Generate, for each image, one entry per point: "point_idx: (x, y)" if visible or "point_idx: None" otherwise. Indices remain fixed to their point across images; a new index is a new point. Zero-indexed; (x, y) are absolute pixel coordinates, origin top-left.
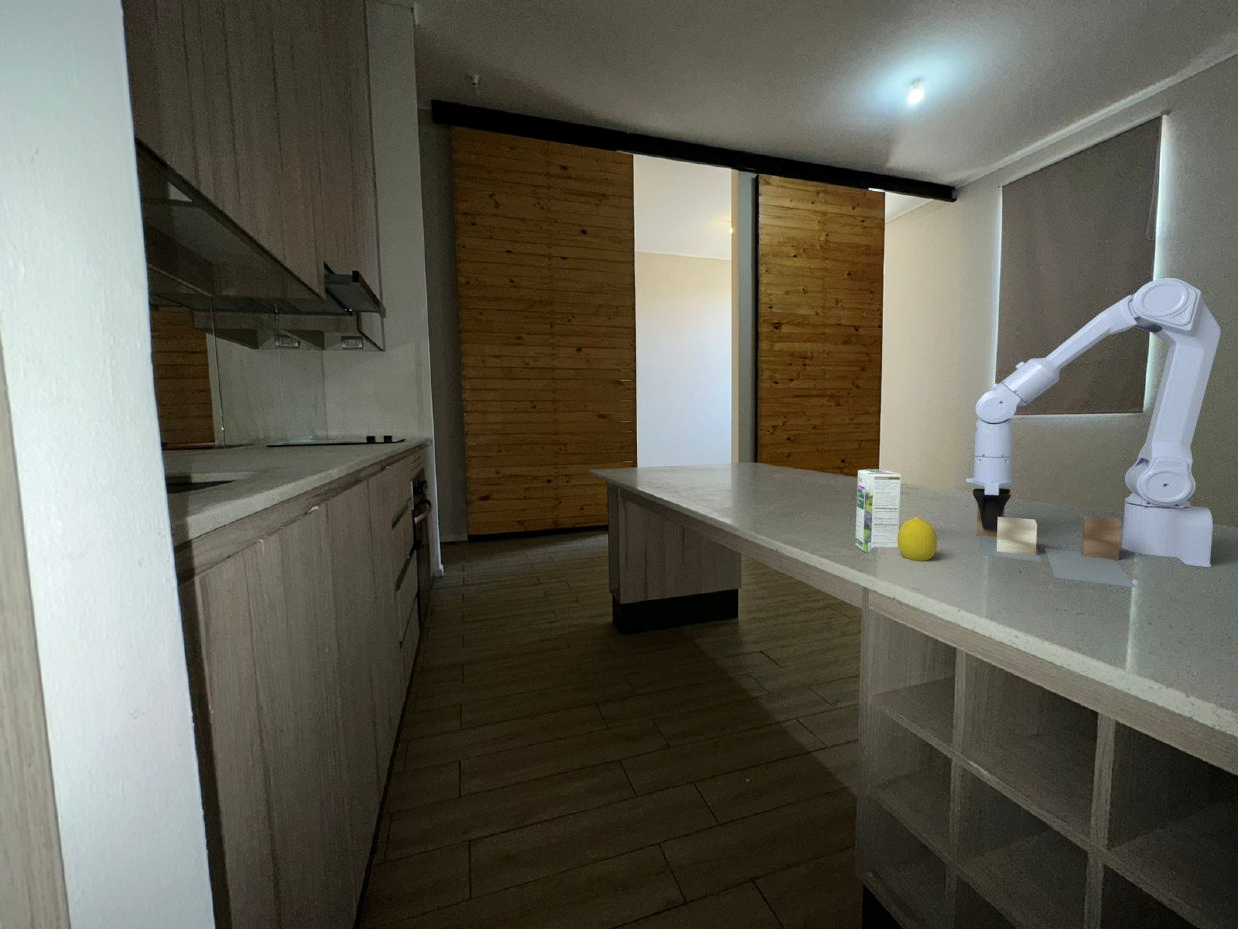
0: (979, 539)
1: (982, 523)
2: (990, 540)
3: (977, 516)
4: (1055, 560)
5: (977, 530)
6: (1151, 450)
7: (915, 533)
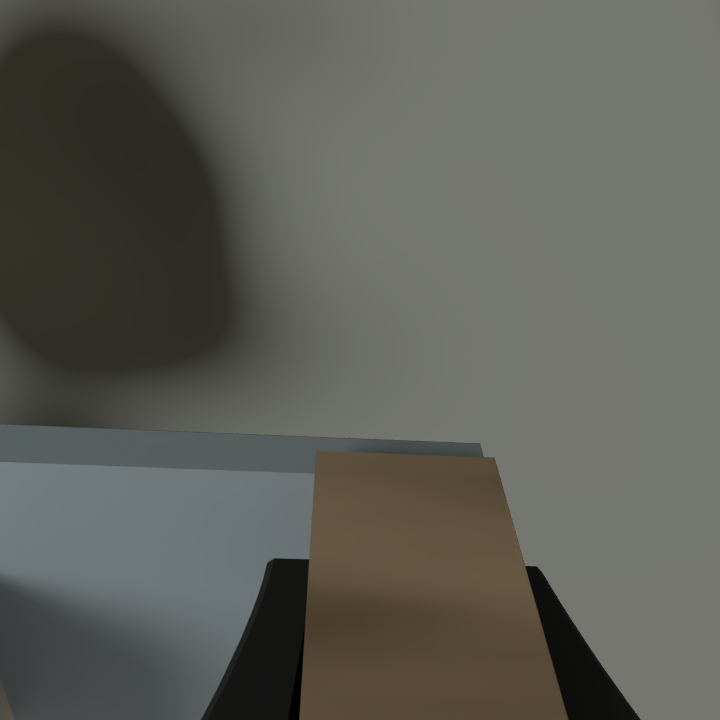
0: (102, 466)
1: (253, 609)
2: (119, 535)
3: (305, 645)
4: None
5: (314, 495)
6: None
7: None
